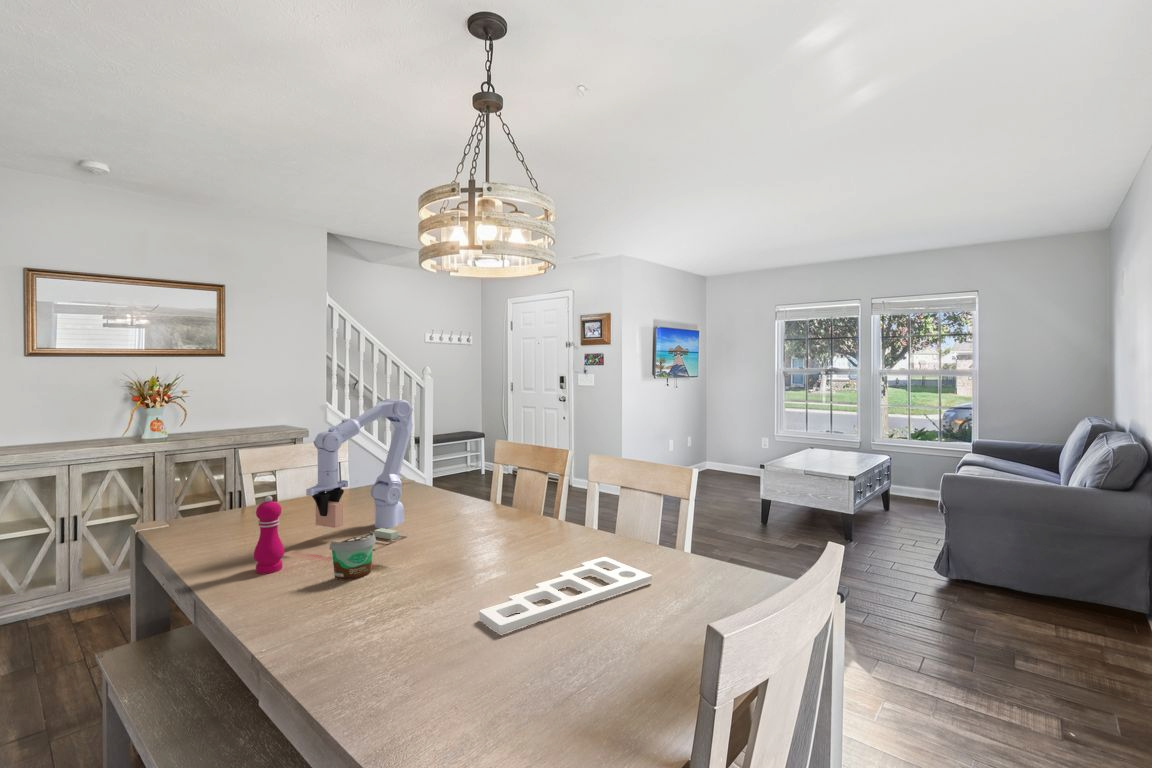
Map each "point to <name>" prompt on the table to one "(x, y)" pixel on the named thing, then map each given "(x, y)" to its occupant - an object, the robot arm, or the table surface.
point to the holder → (562, 594)
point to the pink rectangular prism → (331, 515)
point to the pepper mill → (268, 538)
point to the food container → (353, 557)
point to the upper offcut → (386, 533)
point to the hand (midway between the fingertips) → (328, 514)
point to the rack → (387, 541)
